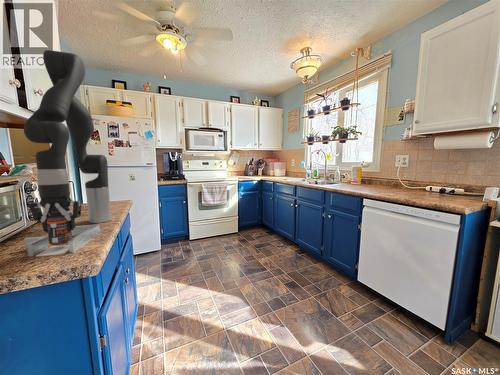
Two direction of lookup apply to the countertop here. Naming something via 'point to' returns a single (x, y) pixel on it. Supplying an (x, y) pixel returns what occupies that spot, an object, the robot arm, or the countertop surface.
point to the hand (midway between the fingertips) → (59, 231)
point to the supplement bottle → (58, 229)
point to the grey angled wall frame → (80, 239)
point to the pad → (55, 250)
